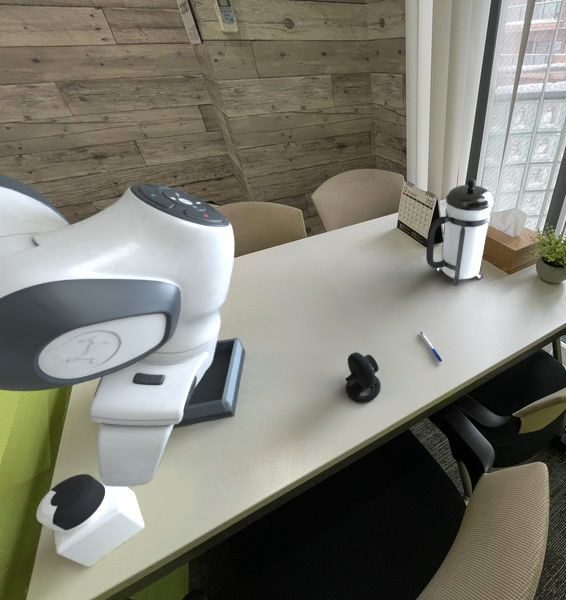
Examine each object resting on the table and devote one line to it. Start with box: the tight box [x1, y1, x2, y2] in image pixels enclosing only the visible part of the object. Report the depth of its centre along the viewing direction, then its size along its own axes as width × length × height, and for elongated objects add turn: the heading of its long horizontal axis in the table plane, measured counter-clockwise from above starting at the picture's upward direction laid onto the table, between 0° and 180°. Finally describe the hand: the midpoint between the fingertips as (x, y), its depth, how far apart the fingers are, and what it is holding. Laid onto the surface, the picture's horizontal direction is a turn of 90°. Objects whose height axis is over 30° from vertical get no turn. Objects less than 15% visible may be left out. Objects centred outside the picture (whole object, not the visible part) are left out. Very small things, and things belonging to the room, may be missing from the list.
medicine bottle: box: [35, 473, 146, 568], centre depth 46 cm, size 7×7×12 cm
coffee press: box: [425, 178, 494, 287], centre depth 94 cm, size 17×16×30 cm
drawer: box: [172, 337, 246, 430], centre depth 67 cm, size 15×18×8 cm
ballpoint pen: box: [419, 331, 443, 363], centre depth 79 cm, size 10×1×1 cm, turn 25°
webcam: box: [345, 351, 382, 404], centre depth 66 cm, size 8×8×10 cm
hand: (156, 426), depth 40 cm, fingers open, 8 cm apart
